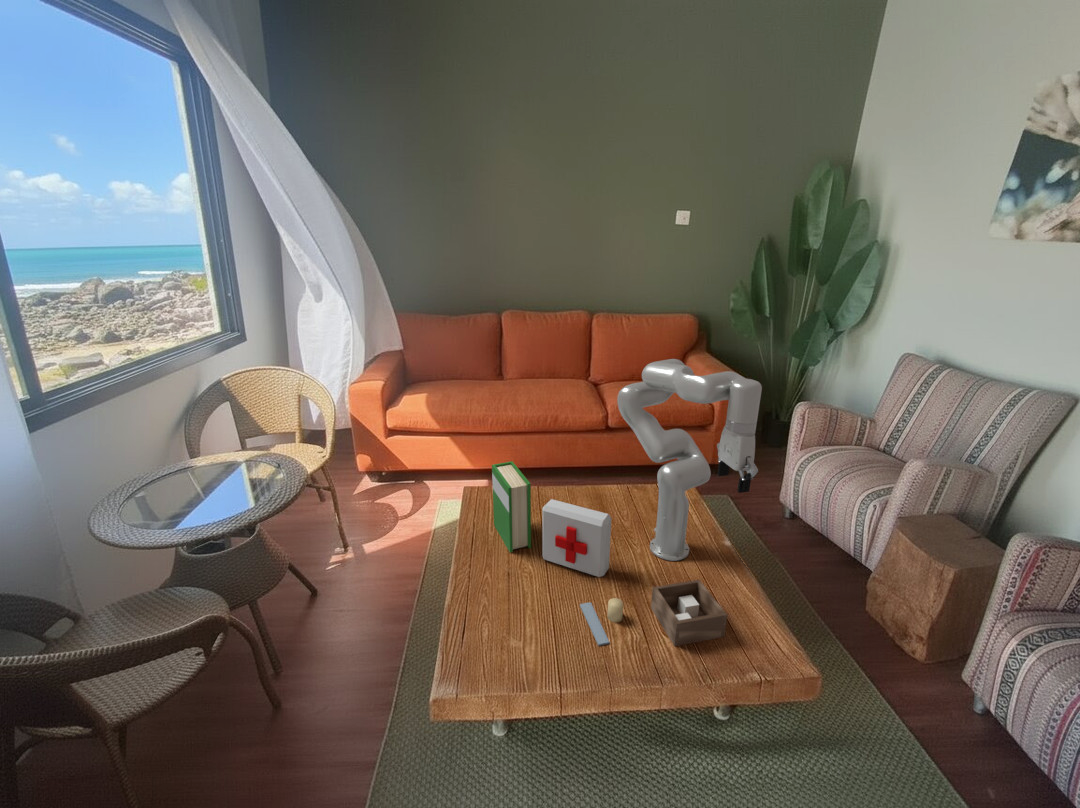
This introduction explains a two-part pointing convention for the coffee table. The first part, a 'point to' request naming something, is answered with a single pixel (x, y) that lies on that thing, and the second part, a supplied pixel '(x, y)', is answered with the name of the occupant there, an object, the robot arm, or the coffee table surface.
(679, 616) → the cube
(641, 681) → the coffee table surface
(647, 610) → the coffee table surface
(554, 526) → the bevelled white case
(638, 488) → the coffee table surface
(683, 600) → the cube
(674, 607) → the box
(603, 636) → the lid
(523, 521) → the hardback book
